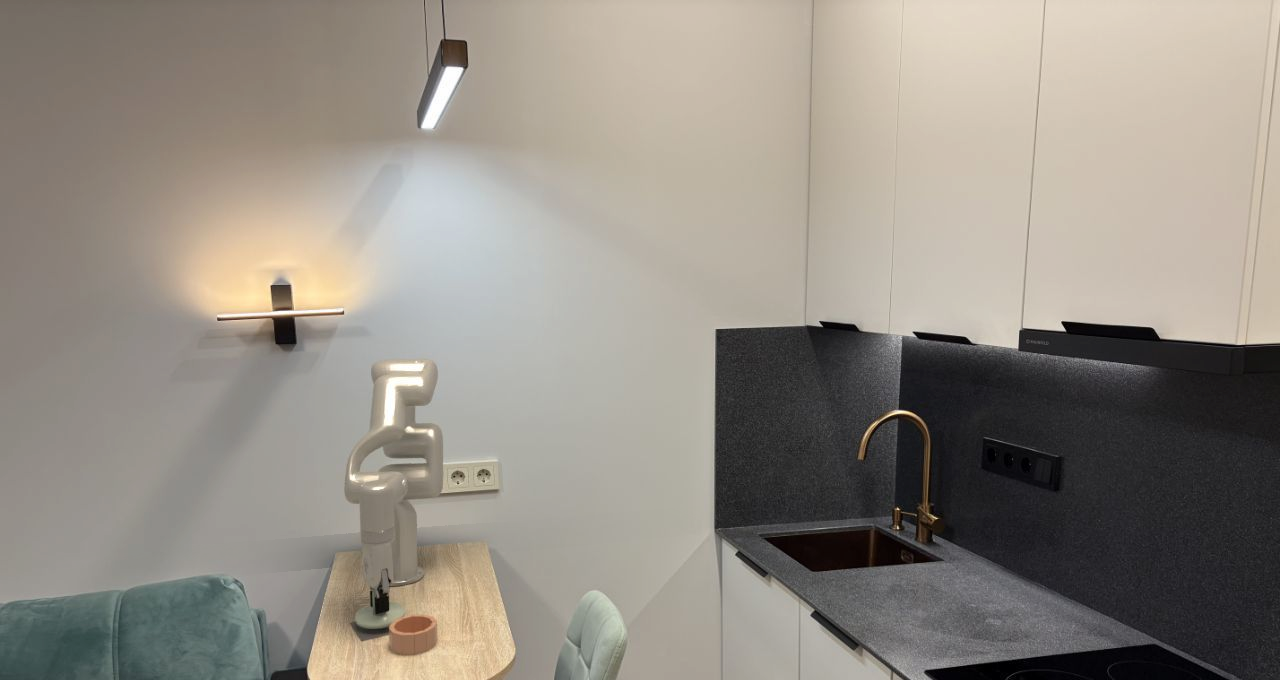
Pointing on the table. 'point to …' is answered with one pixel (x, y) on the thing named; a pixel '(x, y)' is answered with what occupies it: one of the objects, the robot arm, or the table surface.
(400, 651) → the bowl
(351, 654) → the table surface
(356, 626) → the mat
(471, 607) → the table surface
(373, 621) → the lid
